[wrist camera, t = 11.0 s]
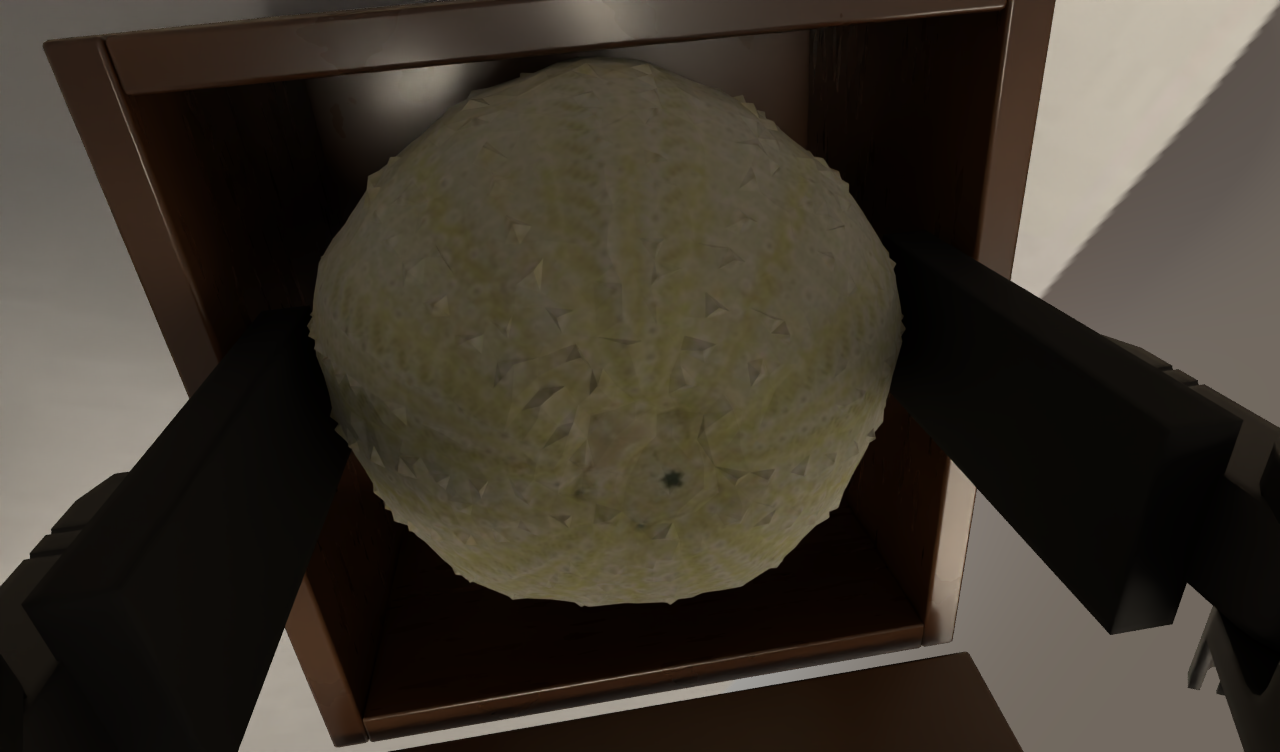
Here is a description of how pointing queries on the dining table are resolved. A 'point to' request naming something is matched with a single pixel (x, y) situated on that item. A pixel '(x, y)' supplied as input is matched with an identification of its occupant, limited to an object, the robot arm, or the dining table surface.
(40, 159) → the dining table surface
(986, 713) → the lid
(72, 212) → the dining table surface
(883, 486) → the chest
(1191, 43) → the dining table surface
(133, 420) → the dining table surface
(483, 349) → the sea urchin shell
